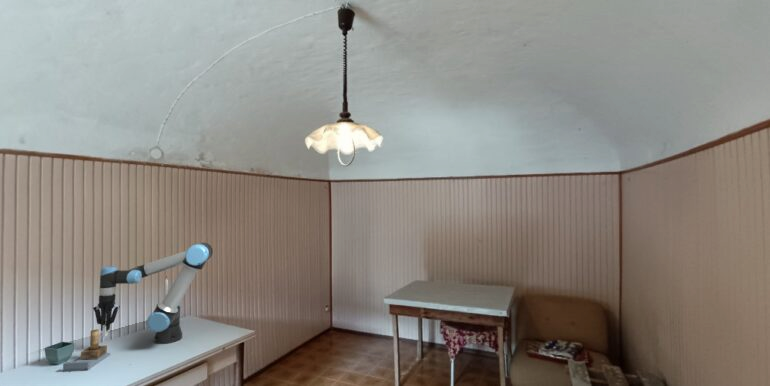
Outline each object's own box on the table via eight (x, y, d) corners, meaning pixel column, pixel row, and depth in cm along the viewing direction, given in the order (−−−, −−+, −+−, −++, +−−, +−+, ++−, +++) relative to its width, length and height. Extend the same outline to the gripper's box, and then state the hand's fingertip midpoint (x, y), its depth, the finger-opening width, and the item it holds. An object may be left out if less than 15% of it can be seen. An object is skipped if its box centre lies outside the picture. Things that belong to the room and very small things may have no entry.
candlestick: (164, 328, 243) (166, 276, 244) (151, 326, 246) (153, 275, 248) (177, 323, 253) (179, 273, 255) (165, 321, 257) (167, 272, 258)
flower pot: (56, 367, 184) (57, 349, 184) (43, 365, 186) (43, 347, 186) (74, 359, 193) (75, 342, 193) (61, 358, 194) (62, 341, 195)
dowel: (99, 353, 196) (100, 329, 197) (95, 356, 193) (96, 331, 193) (92, 353, 196) (93, 329, 196) (88, 356, 192) (89, 331, 193)
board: (110, 354, 199) (110, 347, 199) (87, 370, 181) (87, 362, 181) (87, 356, 198) (88, 348, 198) (62, 371, 179) (63, 363, 179)
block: (106, 352, 199) (106, 345, 199) (97, 358, 191) (97, 351, 191) (90, 353, 197) (90, 346, 198) (80, 359, 190) (81, 351, 190)
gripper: (123, 292, 210) (121, 333, 209) (98, 292, 208) (96, 334, 207) (116, 295, 202) (113, 338, 201) (90, 296, 200) (87, 338, 199)
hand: (104, 336), depth 204 cm, fingers closed
